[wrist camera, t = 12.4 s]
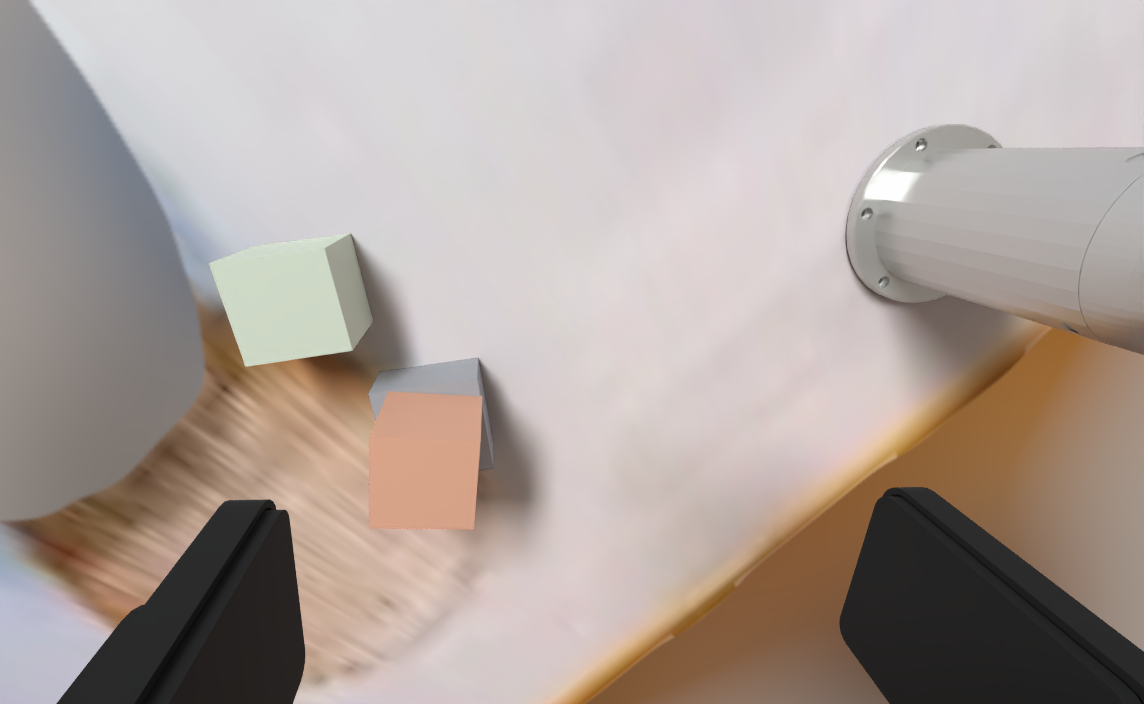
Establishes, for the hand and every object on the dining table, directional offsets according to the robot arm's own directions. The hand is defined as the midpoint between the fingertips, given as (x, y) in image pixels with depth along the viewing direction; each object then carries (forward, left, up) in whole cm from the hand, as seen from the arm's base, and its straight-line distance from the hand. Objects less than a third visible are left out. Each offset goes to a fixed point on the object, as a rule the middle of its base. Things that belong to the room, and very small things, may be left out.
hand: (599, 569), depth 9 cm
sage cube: (+13, +3, -30) cm, 33 cm away
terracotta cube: (+5, +12, -27) cm, 30 cm away
